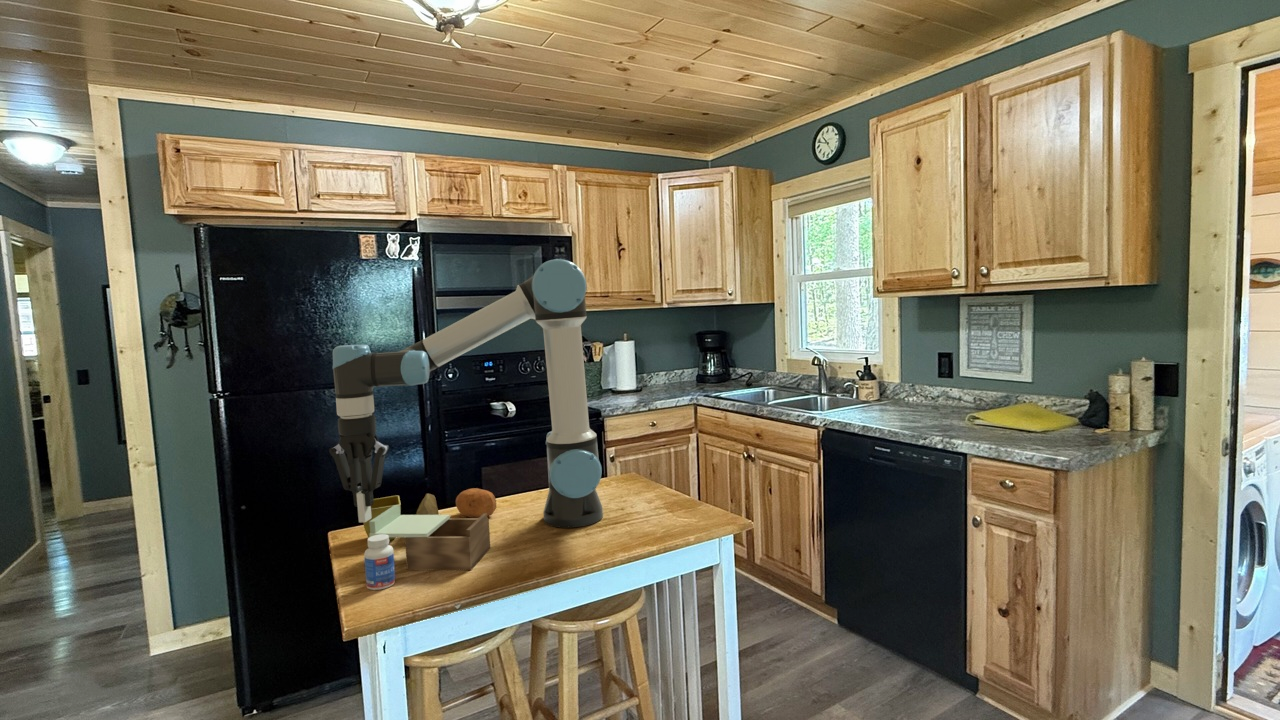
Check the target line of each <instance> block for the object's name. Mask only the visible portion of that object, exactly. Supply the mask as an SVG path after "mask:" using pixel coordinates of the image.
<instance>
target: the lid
mask: <svg viewBox="0 0 1280 720" xmlns="http://www.w3.org/2000/svg"><path fill="white" fill-rule="evenodd" d="M450 515H451V514H439V515H416V514H400V505H394V506H392V507H391V508H389V509H388V510H386V511H385V512H383V513H382V514H380V515H379V516H377V517H376V518H374V519H372V520H371V521H369V524H370V533H369V537H371V536H374V535H379V534H386V535H388V536H389V537H396V538H405V537H428V536H429V535H431V534H432V533H433V532H434V531H435V530H436V529H438V528H439V527H440V526H441V525H442V524H444V523H445V522H446V521H447V520H448V519H450V518H451V516H450ZM369 537H368V538H369Z"/></svg>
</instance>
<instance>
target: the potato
mask: <svg viewBox="0 0 1280 720" xmlns="http://www.w3.org/2000/svg"><path fill="white" fill-rule="evenodd" d="M455 507H456V509H457V510H458V512H459V513H460V515H461V516H465V517H468V518H479V517H480V516H481V515H482V514H484V513H487V517H490V516H492V515H493V514H494V512H495V511H496V509H497V499H496V497H495V495H494V493H493V492H491V491H489V490H486V489H481V488H478V487H476V488H474V487H473V488H468V489H466V490H462V491H461V492H459V494H458V495H457V496H456V498H455Z"/></svg>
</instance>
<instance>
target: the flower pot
mask: <svg viewBox="0 0 1280 720" xmlns="http://www.w3.org/2000/svg"><path fill="white" fill-rule="evenodd" d="M400 499H401V498H400V495H398V494H397V495H396V494H395V495H391V496H385V497H380V498H379V497H378V498H373V500H374V503H373V505H371V516H372V518H371V519H370V520H368V521H367V522H362V523H363V528H364V531H365V533H366V535H367V537H368V538H369V533H370V524H369V521H371V520H372V519H374V518H376V517H377V516H379V515H380V514H382V513H383V512H385V511H386V510H388V509H389V508H391V507H392V506H394V505H400V514H401V510H402V507H401V505H402V504H401V500H400ZM401 515H402V514H401ZM396 538H397V537H389V541H391V540H395V539H396Z"/></svg>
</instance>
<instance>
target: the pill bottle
mask: <svg viewBox="0 0 1280 720" xmlns="http://www.w3.org/2000/svg"><path fill="white" fill-rule="evenodd" d="M367 547H368V548H366V550H365V551H364V557H363V558H364V569H365V585H366V588H367V589H369V590H370V591H379V590H384V589H388V588H389V587H392V586H393V585H394V584H395V582H396V574H395V557H394V555H395V554H394V548H393V546H392V545H390V540H389V536H388V535H386V534H379V535H374V536H371V537H368V538H367Z"/></svg>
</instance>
